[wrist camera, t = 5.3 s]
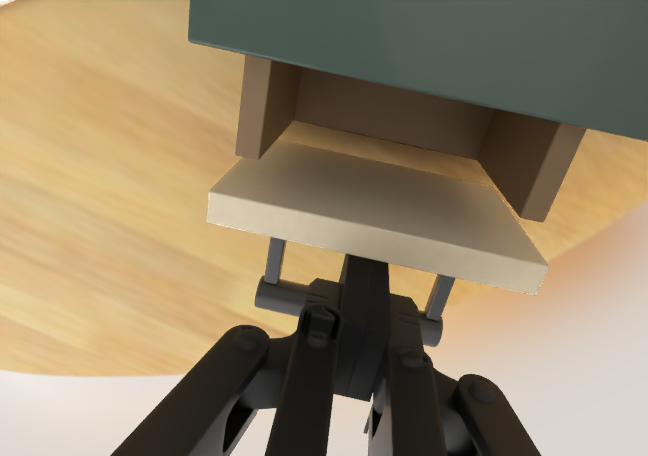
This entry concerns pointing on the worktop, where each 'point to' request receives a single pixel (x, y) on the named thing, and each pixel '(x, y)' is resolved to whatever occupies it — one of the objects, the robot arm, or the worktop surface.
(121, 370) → the worktop surface
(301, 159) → the drawer
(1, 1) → the teacup
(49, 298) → the worktop surface
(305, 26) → the cabinet
